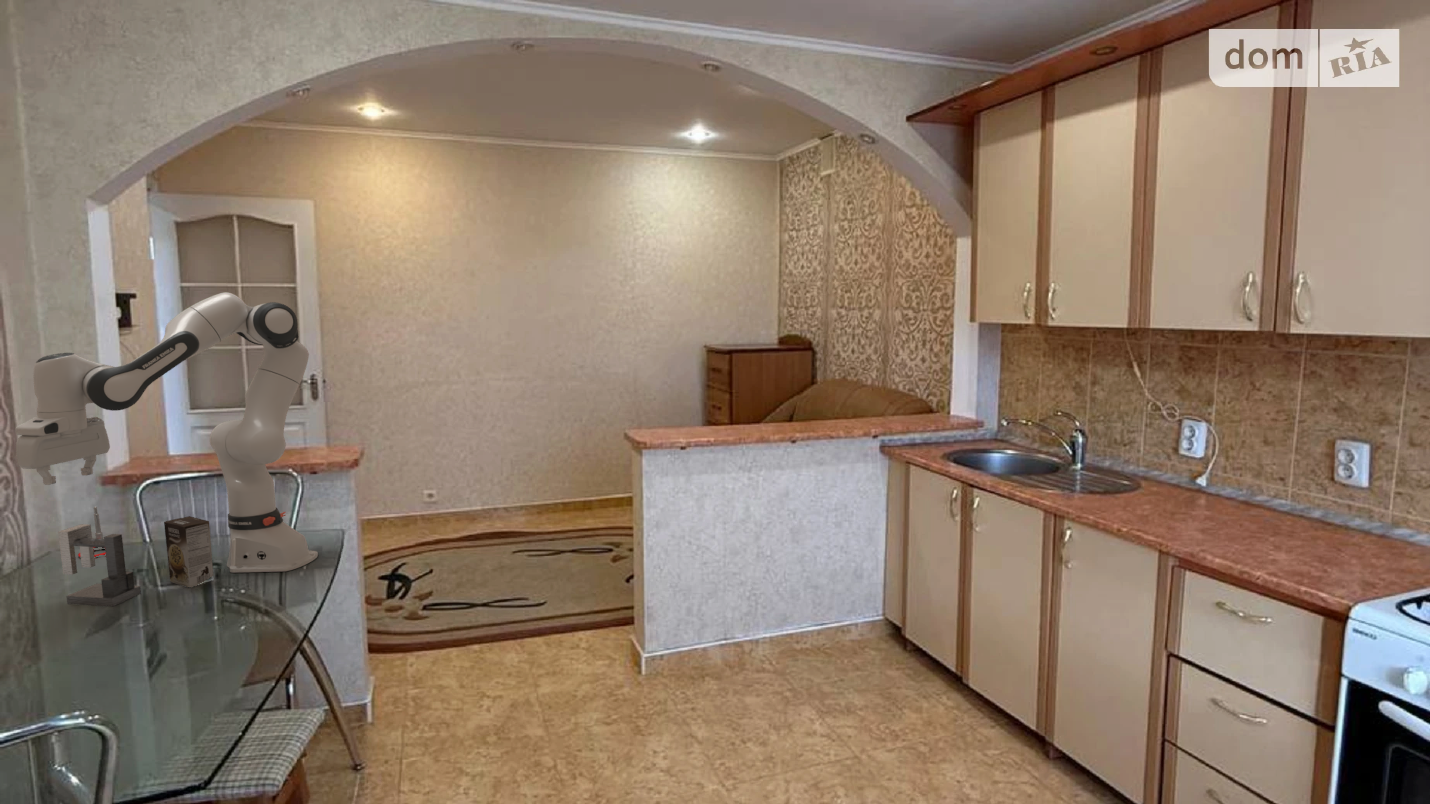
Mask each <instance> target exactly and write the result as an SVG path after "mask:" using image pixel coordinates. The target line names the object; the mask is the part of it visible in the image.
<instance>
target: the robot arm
mask: <svg viewBox="0 0 1430 804" xmlns="http://www.w3.org/2000/svg"><path fill="white" fill-rule="evenodd" d="M298 325H299V324H298V318H297V315H296V313H295V312H294V310H293V309H291V307H289V306H288V305H287V304H283V303H281V302H275V301H270V302H267V303H261V304H258V305H254V306H250V305H247V304H246V303H245V302H244V300H243V299H241V298H240V297H239V296H238V295H236V294H234V293H231V292H228V291H227V292H220V293H217V294H213V295H211V296H209V297H207V298H204V299H202V300H200V301H198V302H196V303H194V304H192V305H190V306H189V307H188V308H185V309H184V310H182V311H181V312H179V313H178V314H176V315H175V316H174V317H173V318H172V319H170V320H169V322H168V323H166V326H165V330H164V336H163V338H162V340H160V342H159V343H157V344H156V345H155V346H154V347H152V348H151V349H149V350H147V351H146V352H144V353H142V354H141V355H140V356H138V357H137V358H135V359H133V360H132V361H131V362H129V363H125V364H124V365H123V364H122V365H119V366H114V365H109V364H104V363H100V362H96V361H94V360H89V359H87V358H84V357H82V356H79V355H77V354H76V353H74V352H61V353H54V354H48V355H46V356H42V357H41V358H39V359H37V360H36V362H35V363H34V365H33V366H34V367H33V388H34V389H33V391H34V394H35V397H36V398H37V407H36V415H35V416H34V417H32V418H30V419H28V420H26V421H24V422H22V423H20V424H18V425H17V426H16V427H15V434H16V435H17V436H19V437H18V438H17V440H16V444H15V445H16V446H15V447H16V448H15V449H16V450H15V451H16V452H15V454H16V461H17V462H16V463H17V465H18V466H19V467H20V468H22V469H25V470H36V472H37V473H38V475H40V477H42V481H43V482H42V483H43V485H47V486H50V485H53V484H56V483H57V480H56V479H57V477H56V476H55V475H52V474H51V473H50V471H51V466H54V465H58V464H63V463H69V462H71V461H72V462H73V461H75V460H76V461H77V460H81V459H83V461H85V462H84V464H83V467H80V472H81V473H80V474H81V476H85V477H86V476H90V475H94V474H93V473H94V469H93V467H94V466H95V464H96V462H97V456H99V455H102V454H103V455H104V454H107V453H109V450H110V448H111V445H110V440H109V439H110V438H109V436H108V433H107V429H106V428H105V421H104V420H102V418H100V417H98V416H93V417H88V418H87V410H86V406H87V404H95V405H96V406H97V407H99V408H101V409H104V410H106V411H115V412H116V411H121V410H126V409H129V408H131V407H132V406H133V405H135V404H136V403H137V402H138V401H139V400H140V399H141V398H142V396H143V395H144V393H145V391H146V390H147V388H148V387H149V386H150V385H152V383H154V382H155V381H156V380H158V379H160V378H161V377H162V376H163V375H166V374H167V373H168V372H170V371H171V370H172V369H174V368H175V367H177V366H179V365H180V364H181V363H183V362H185V361H187V360H188V359H190V358H192V357H194V356H196V355H199V354H201V353H203V352H205V351H207V350H209V349H210V348H212V347H214V346H216V345H217V344H220V343H221V342H222V341H223V340H226V339H227V338H228V337H231V336H232V335H234V334H237V335H239V336H240V337H241V338H243V339H244V340H246V341H247V342H249V343H251V344H254V345H258V346H263V357H262V360H261V362H260V364H258V365H259V366H258V367H257V370H256V371H255V374H254V375H253V377H252V380H251V382H250V384H249V386H248V388H247V390H245V391H246V392H245V394H244V399H245V408H244V409H245V410H244V414H243V418H242V419H231V420H226V421H223V422H220V423H218V424H217V425H216V426H215V427H214V428H213V429H212V431H211V432H210V435H209V444H210V446H211V448H212V449H213V451H214V453H215V454H216V457H217V461H218V463H219V467H220V469H221V472H222V476H223V478H224V482H225V486H226V493H227V503H228V512H229V513H227V524H228V525H227V526H228V528H229V531H230V538H229V539H230V540H229V551H228V552H229V553H228V558H227V562H226V567H227V568H229V573H234V574H235V573H263V572H267V573H268V572H269V573H270V572H271V573H273V572H277V573H278V572H289V571H292V570H295V569H299V568H301V567H304V566H306V565H307V564H309V563H312V562H313V561H314V560H316V559H317V558H318V556H319V554H318V551H317V550H311V549H310V550H309V547H308V542H307V539H306V536H305V535H304V534H302V533H300V532H299V531H297V530H296V529H294V528H293V527H291V526H290V525H289V524H287V523H286V522H285V521H284V519H283V518H284V517H286V516H287V514H286V513H287V512H286V511H282V512H280V510H279V509H278V508H277V505H276V504H277V503H276V491H275V482H274V479H273V477H272V476H271V475H270V473H269V471H268V468H267V466H266V465H269V464H273V463H275V462H277V461H279V460H280V459H281V457H282V456H283V455H284V454H285V450H286V445H287V444H286V439H285V436H284V434H285V433H284V432H285V431H284V430H285V424H286V420H287V415H288V412H289V409H290V407H291V404H292V402H293V399H294V398H295V395H296V394H297V393H296V392H297V391H298V389H299V386H300V385H301V383H302V380H303V378H304V375H305V372H306V370H307V365H308V362H309V355H310V354H309V350H308V349H307V347H306V346H305V345H304V344H302V343H301V342H299V341H298V340H299V331H298Z"/></svg>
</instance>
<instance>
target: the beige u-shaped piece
mask: <svg viewBox="0 0 1430 804" xmlns="http://www.w3.org/2000/svg"><path fill="white" fill-rule="evenodd" d="M92 533H93V532H92V525H91V524H86V523H83V524H78V525H75V526H72V527H68V528H66V529H62V530H59V531H58V532H57V535H58V541H59V543H58V544H59V550H60V551H59V552H60V559H61V566H62V574H63V575H72V576H73V575H75V574H77V573H78V568H77V558H76V549H75V546H74V540H77V539H80V538H91V539H93V534H92ZM78 547H79V553H80V556H81V559H80V564H81V567H82V568H93V567H94V568H95V566H96V561H95V560H96V558H94V555H95V551H94V549H93V547H80V546H78Z"/></svg>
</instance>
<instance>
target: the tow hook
mask: <svg viewBox="0 0 1430 804" xmlns="http://www.w3.org/2000/svg"><path fill="white" fill-rule="evenodd" d="M93 513H94V514H93V520H94V521H93V522H94V525H95V526H94V527H95V528H94V529H95V535H94V537H95V539H104V535H103V532H102V526H101V520H100V514H99V511H98V506H94V507H93ZM93 548H98V547H93ZM105 554H106V552H102V553H97V554H94V557H96V556H99V555H105ZM77 556H79V557H81V556H80V552H79V553H78V554H77ZM79 557H78V558H79Z"/></svg>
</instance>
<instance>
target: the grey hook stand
mask: <svg viewBox="0 0 1430 804" xmlns="http://www.w3.org/2000/svg"><path fill="white" fill-rule="evenodd" d="M79 546H80V547H102V548H105V550H104V551H105V552H106V556H105V560H106V567H107V577H105V578H102V579H101V580H100V581H101V583H95V584H92V585H90V586H87V587H85V588H82V589H81V590H78V591H77V590H76V592H73V593H71V594H67V595H66V604H67V605H78V606H79V605H81V606H82V605H83V606H96V607H97V606H98V607H99V606H100V607H115V606H117V605H119V604H122V603H123V602H125V601H128V600H131V599H132V598H135V597H137V596H139V595H142V586H141V585H135V580H134V572H133V571H126V561H125V553H124V551H125V550H124V541H123V534H121V533H112V534H109V535H107V536H103V539H96V538H92V539H91V538H80V539H77V540H74V547H79ZM80 547H79V548H80Z"/></svg>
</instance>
